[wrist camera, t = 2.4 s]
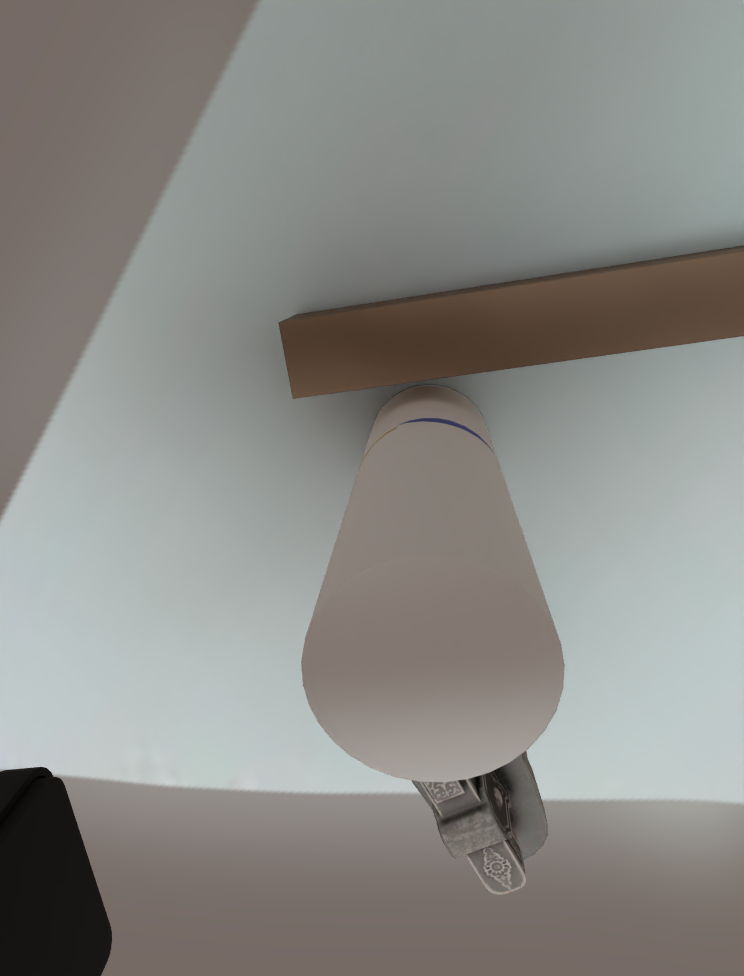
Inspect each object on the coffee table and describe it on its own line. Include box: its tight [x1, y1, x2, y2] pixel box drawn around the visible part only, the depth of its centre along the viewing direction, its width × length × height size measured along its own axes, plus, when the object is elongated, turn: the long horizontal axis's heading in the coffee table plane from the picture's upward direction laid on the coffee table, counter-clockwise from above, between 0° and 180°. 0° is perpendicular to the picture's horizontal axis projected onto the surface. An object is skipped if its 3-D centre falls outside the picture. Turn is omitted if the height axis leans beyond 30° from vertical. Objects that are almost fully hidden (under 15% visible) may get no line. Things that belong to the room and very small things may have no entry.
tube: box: [301, 385, 564, 782], centre depth 19 cm, size 4×4×15 cm
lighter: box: [412, 751, 548, 894], centre depth 23 cm, size 8×3×10 cm, turn 29°
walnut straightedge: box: [279, 246, 744, 399], centre depth 22 cm, size 2×24×3 cm, turn 99°
